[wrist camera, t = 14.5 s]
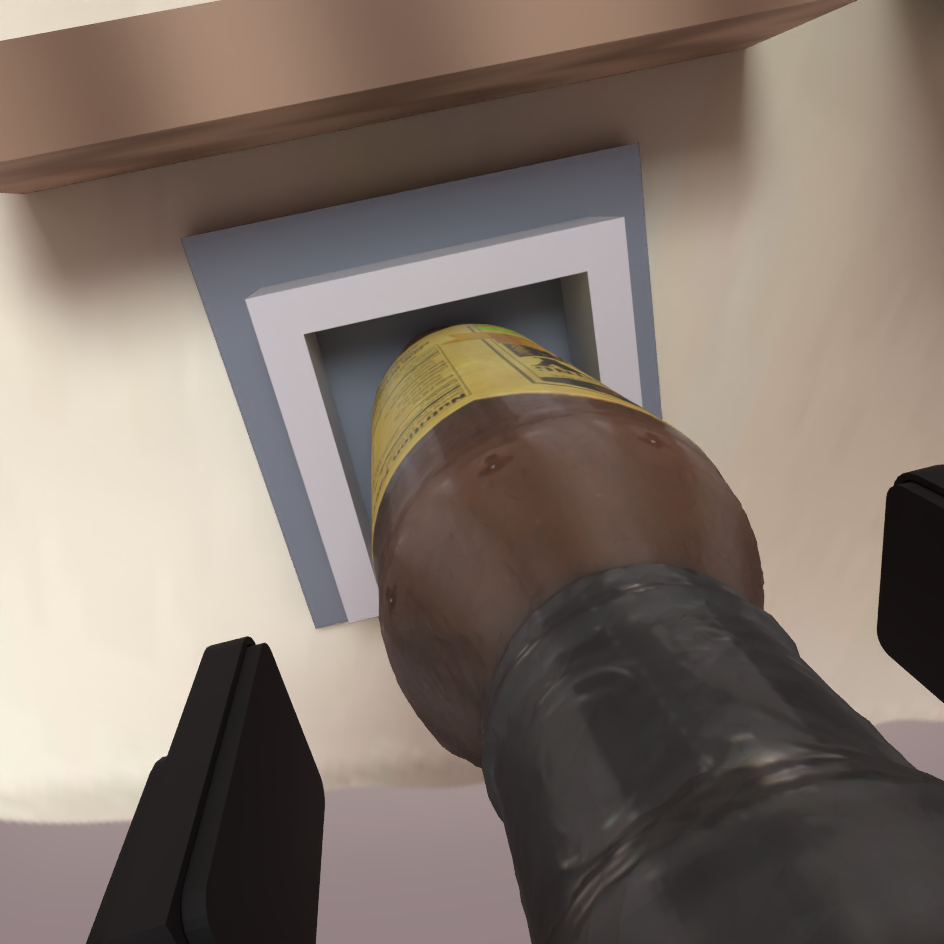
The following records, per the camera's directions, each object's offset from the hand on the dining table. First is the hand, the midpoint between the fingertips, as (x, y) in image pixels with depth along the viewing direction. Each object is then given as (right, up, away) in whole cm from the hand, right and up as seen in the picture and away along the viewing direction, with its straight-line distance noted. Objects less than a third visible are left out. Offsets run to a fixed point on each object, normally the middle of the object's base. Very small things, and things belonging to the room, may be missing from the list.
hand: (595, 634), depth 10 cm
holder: (-2, +5, +13) cm, 14 cm away
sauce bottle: (-2, +5, +13) cm, 14 cm away
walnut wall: (-4, +14, +10) cm, 17 cm away
